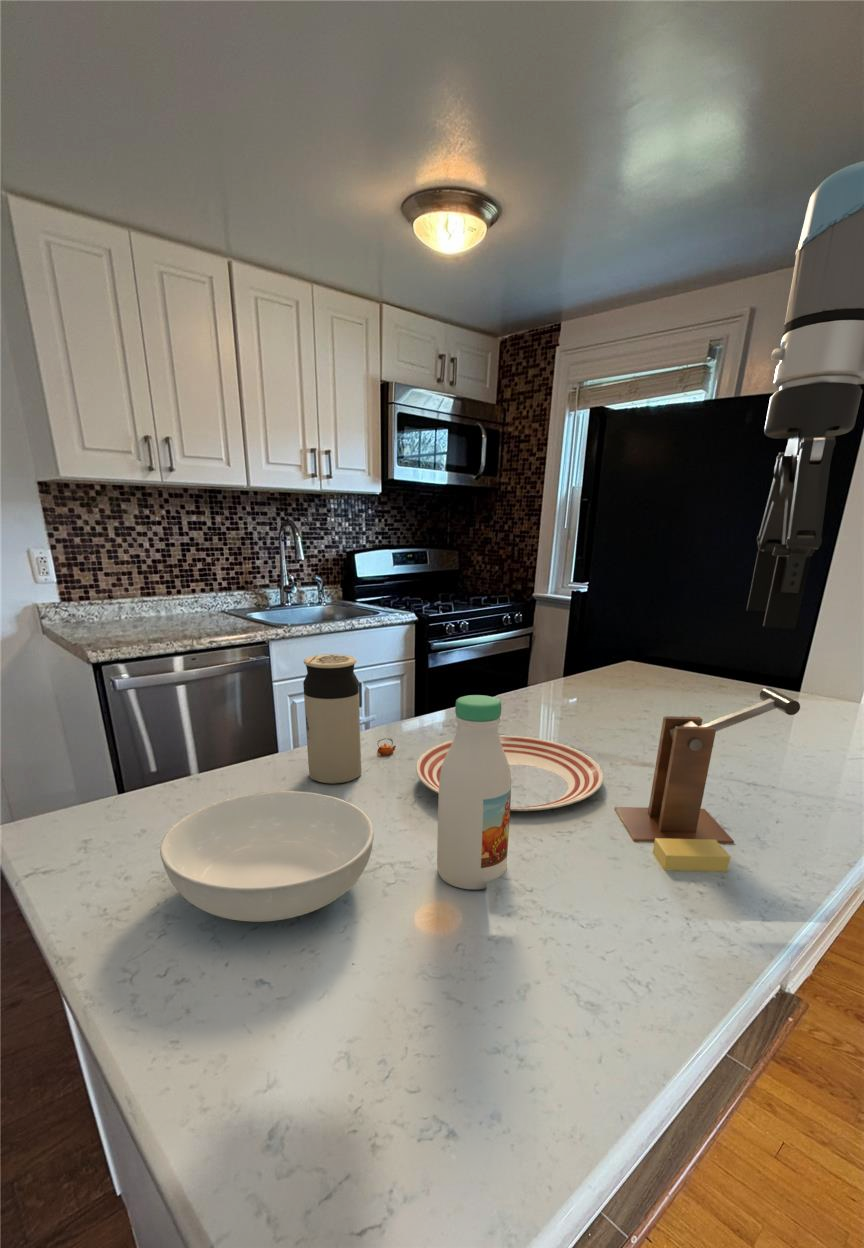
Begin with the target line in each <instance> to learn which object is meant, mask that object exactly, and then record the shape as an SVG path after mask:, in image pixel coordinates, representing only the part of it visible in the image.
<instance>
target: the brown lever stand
mask: <svg viewBox="0 0 864 1248" xmlns="http://www.w3.org/2000/svg"><path fill="white" fill-rule="evenodd" d="M691 721H692V722H693V723H695V724H696V725H697V726H701V725H703V718H701V717H700V716H672V715H671V716H670V715H669V716H668V715H664V716H663V717H662V723H661V730H660V736H659V742H658V748H657V756H656V761H655V767H654V771H653V773H654V774H653V779H652V785H651V792H650V798H649V803H648V804H649V805H648V807H641V806H640V807H637V806H614V808H613V809H614V811H615V813H616V815H617V816H618V818H619V819H620V822H622V824H623V826H624V828H625V830H626V831H627V833H628V835H629V836H630V838H631V840H632V841H633V842H641V843H643V842H645V843H646V842H647V843H649V842H650V843H654V842H655V838H665V839H711V840H716V841H717V842H718V843H719V844H734V843H735V840H734V839H733V838H732V837H731V836H730V835H729V833H727V832H726V831H725V829H724V828H723V827H722V826H721V825H720V824H719V823H718V822H717V821H716V819H715V818H714V817H713V816H712V815H711V814H710V813H709V812H708V811H707V810H706V809H705V808H702V804H703V798H704V793H705V788H706V784H707V779H708V773H709V767H710V763H711V759H712V753H713V748H714V742H715V738H716V733H717V731H716V729H715V728H713V727H682V726H681V725H684V724H686V723H689V722H691ZM673 728H675V731H674V736H673V740H672V737H671V734H670V730H671V729H673Z"/></svg>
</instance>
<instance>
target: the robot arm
mask: <svg viewBox="0 0 864 1248" xmlns="http://www.w3.org/2000/svg"><path fill="white" fill-rule="evenodd" d="M794 258H795V262H794V268H793V273H792V279H791V284H790V285H791V286H790V291H789V296H788V300H787V301H788V302H787V309H786V314H785V320H784V325H783V330H782V337H781V342H780V348H779V347H778V348H774V349H773V351H772V352H771V356H770V359H771V361H774V362H779V363H778V364H777V365H776V366H775V367H776V368H775V373H774V379H773V385H774V386H775V388H777V389H778V390H776V391H775V392H774V393H773V394H772V395H771V396H770V397H769V403H768V406H767V407H768V408H767V413H766V420H765V425H764V428H763V429H764V430H763V432H764V435H765V436H766V437H768V438H771V439H777V440H779V439H786V440H787V445H786V447H785V451H784V452H783V451H782V452H778V455H777V456H776V458H775V459H776V460H775V465H774V467H773V479H772V482H771V485H770V486H771V487H770V491H769V495H768V498H767V502H766V506H765V510H764V512H763V513H764V514H763V517H762V521H761V525H760V529H759V533H758V535H757V536H756V543H757V548H758V551H757V552H756V559H755V564H754V568H753V574H752V579H751V584H750V585H751V586H750V590H749V595H748V598H747V599H748V601H747V605H746V611H749V612H765V614H764V619H763V622H762V623H763V624H762V627H763V628H773V629H775V628H776V629H790V630H791V629H792V630H793V629H794V630H795V629H796V627H797V623H798V619H799V613H800V611H801V606H802V601H803V597H804V591H805V588H806V583H807V579H808V574H809V571H810V565H811V561H812V556H813V555H814V553H815V552H816V550H819V548H820V547H821V545H822V543H823V538H822V537H823V536H822V535H823V527H824V519H825V512H826V504H827V503H826V502H827V496H828V487H829V479H830V470H831V464H832V463H831V462H832V458H833V454H834V448H835V447H836V444H837V440H836V436H841V435H844V434H845V435H846V434H848V433H849V432H850V431H852V430H853V429H854V428H855V425H856V421H857V418H858V417H857V416H858V413H859V411H858V410H859V407H860V403H861V399H862V395H863V392H864V391H863V389H862V387H861V385H859V384H858V383H859V382H862V381H863V380H864V160H861V161H859V162H856V163H852V164H850V165H848V166H844V167H843V168H840V169H838V170H837V171H835V172H833V173H832V174H830V175H829V176H828V177H826V178H825V179H824V180H823V181H821V183H819V184H818V186H817V187H816V189H815V190H814V191H813V192H812V194H811V196H810V198H809V201H808V203H807V208H806V212H805V217H804V221H803V225H802V228H801V233H800V238H799V241H798V246H797V248H796V250H795V254H794Z"/></svg>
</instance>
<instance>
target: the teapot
mask: <svg viewBox="0 0 864 1248" xmlns="http://www.w3.org/2000/svg"><path fill="white" fill-rule="evenodd" d="M383 740H385V738H382V739H379V740H378V741H377V743H380V742H381V741H383ZM388 740H389V741H390V742H391V745H389V744H386V743H384V744H382V745H380V746H379V744H377V747H378V748H377V751H376V755H377V756H378V757H387V756H391V755H392V754H393V753H394V751H395V750H396V747H397V745H393V744H394V741H393V739H391V738H388Z"/></svg>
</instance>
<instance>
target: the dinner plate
mask: <svg viewBox="0 0 864 1248" xmlns="http://www.w3.org/2000/svg"><path fill="white" fill-rule="evenodd" d="M499 738H500V742H501V745H502V748H503V750H504V753H505V755H506V757H507V760H508V763H509V766H531V767H534V768H539V769H542V770H545V771H548V772H552V773H554V774H556V775H557V776H559V777H561V778H562V779H564V781H566V784H567V790H566V791H565V793H564V794H563V795H562V796H561V797H559V798H557V799H555V800H553V801H551V802H548V803H545V804H544V803H543V804H539V805H532V806H517V807H515V806H510V812H530V811H531V812H532V811H543V810H550V809H551V810H552V809H558V808H561V807H566V806H569V805H573V804H576V803H578V802H582V801H583V800H585V799H587V798H589V797H591V796H592V795H594V794H595V793H596V792H597V791H598V790H599V789H600V788H601V787H602V785H603V782H604V772H603V770H602V768H601V767H600V765H599V764H598V763H597V761H595V760H594V759H593V758H591V757H590V756H589V755H587V754H586V753H584V752H582V751H580V750H578V749H576V748H574V747H571V746H568V745H565V744H563V743H559V742H556V741H552V740H547V739H542V738H536V737H529V736H520V735H500V734H499ZM453 740H454V739H452V740H448V741H445V742H442V743H440V744H437V745H435V746H432V747H431V748H429V749H427V750H426V751H425V752H424V753H422V754H421V755H420V756H419V758H418V760H417V762H416V764H415V773H416V775H417V777H418V779H419V780H420V781H421V782H422V783H423V784H424V785H425V786H426V787H427V788H428V789H430V790H431V791H433V792H435V793H437V794H438V795H439V780H440V772H441V768H442V764H443V761H444V759H445V757H446V754H447V752H448V751H449V749H450V747H451V745H452V742H453Z"/></svg>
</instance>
